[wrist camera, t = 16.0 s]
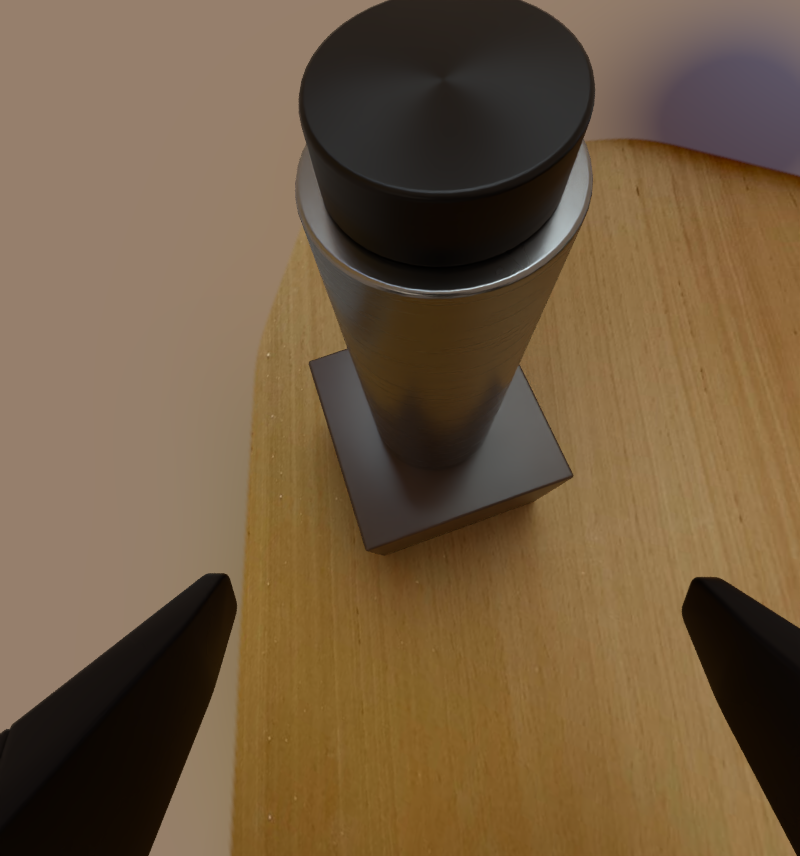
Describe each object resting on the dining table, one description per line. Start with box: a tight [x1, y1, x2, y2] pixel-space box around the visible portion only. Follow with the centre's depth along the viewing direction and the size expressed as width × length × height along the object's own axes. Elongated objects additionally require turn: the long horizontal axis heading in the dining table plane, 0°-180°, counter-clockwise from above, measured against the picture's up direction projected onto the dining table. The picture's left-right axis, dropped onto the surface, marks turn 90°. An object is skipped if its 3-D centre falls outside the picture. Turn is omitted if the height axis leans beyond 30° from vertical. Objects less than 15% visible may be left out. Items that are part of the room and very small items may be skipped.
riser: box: [309, 349, 573, 555], centre depth 19 cm, size 8×8×6 cm
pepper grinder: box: [295, 0, 595, 471], centre depth 11 cm, size 4×4×12 cm
